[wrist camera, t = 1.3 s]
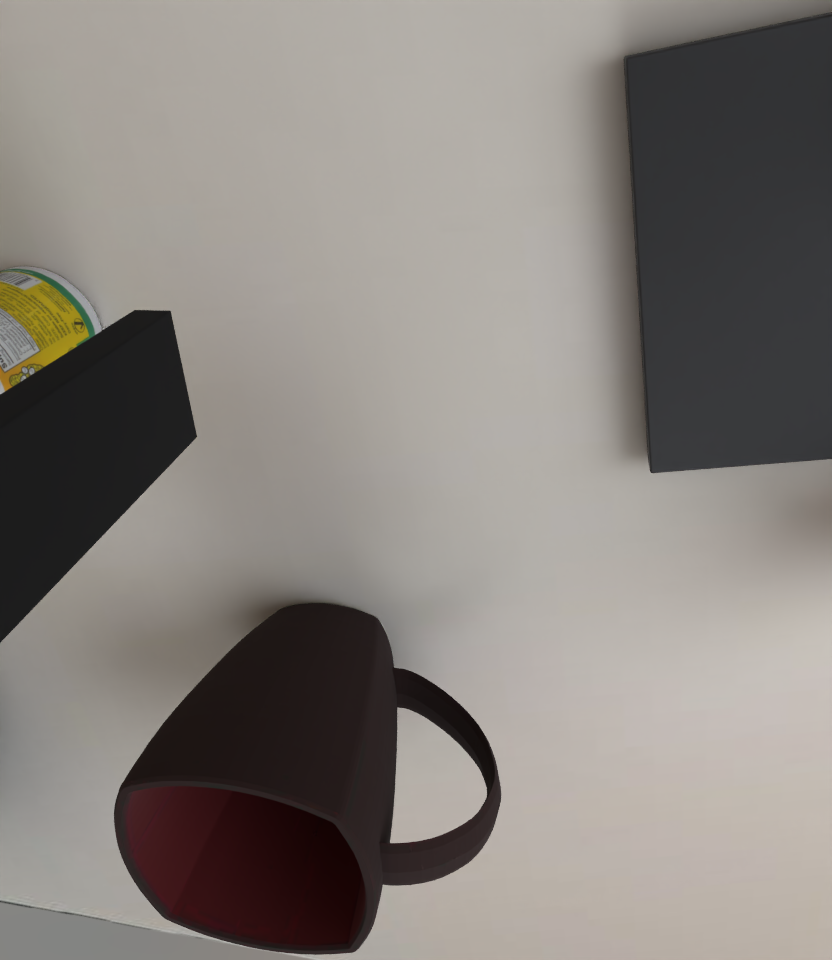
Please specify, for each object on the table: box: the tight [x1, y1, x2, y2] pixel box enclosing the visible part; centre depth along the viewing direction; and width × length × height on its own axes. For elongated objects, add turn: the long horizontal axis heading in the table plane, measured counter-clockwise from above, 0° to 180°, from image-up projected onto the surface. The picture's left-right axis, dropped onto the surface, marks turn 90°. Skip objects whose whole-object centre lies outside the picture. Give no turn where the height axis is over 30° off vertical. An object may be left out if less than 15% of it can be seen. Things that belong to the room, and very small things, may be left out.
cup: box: [114, 603, 501, 955], centre depth 33 cm, size 10×14×12 cm
